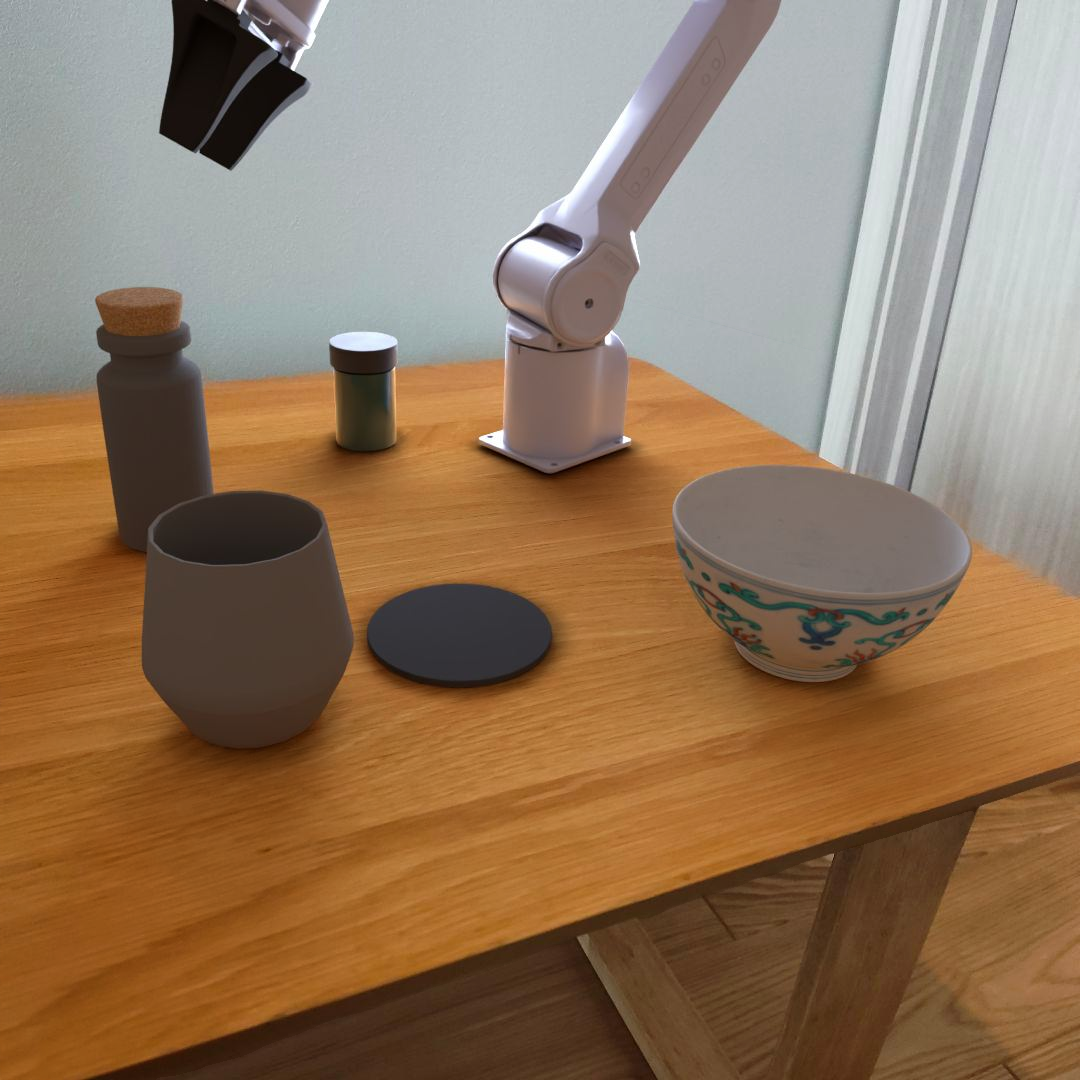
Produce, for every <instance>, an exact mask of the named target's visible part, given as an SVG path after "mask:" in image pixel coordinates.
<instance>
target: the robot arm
mask: <svg viewBox="0 0 1080 1080" xmlns="http://www.w3.org/2000/svg"><path fill="white" fill-rule="evenodd" d="M328 2H329V0H171V11H172V25H173V29H172V30H173V31H172V33H173V36H172V40H173V41H172V56H171V62H170V63H171V64H170V69H169V75H168V81H167V85H166V91H165V96H164V100H163V105H162V110H161V115H160V122H159V128H158V134H159V135H161V136H163V137H165V138H167V139H168V140H169V141H172V142H174V143H175V144H177V145H178V146H181V147H183V148H184V149H185V150H188V151H189V152H191V153H194V154H197V153H199V154H200V155H202V156H204V157H206V158H207V159H209V160H210V161H213V162H214V163H216V164H218V165H220V166H222V167H223V168H225V169H227V170H228V171H231V172H232V171H233V170H234V169H235V168H236V167H237V166H238V165H239V163H240V162H241V161H242V160H243V159H244V157H245V156H246V155H247V154H248V152H249V151H250V150H251V148H252V147H253V146H254V144H255V143H256V142H257V141H258V139H259V138H260V137H261V136H262V134H263V133H264V132H265V130H267V128H268V127H269V126H270V125H271V124H272V123H273V121H274V120H275V119H276V118H278V116H280V115H281V114H282V113H283V112H285V110H286V109H288V108H289V107H290V106H291V105H293V104H294V103H296V102H297V101H299V100H300V99H302V98H303V97H304V96H305V95H307V93H308V92H309V91H310V89H311V86H312V83H311V82H310V81H309V79H308V78H307V77H305V76H303V75H302V74H300V73H298V72H297V71H295V69H296V67H297V65H298V63H299V61H300V59H301V57H302V55H303V53H304V50H307V49H310V48H311V47H312V45H313V43H314V40H315V38H316V33H315V32H314V31H315V30H316V27H317V26H318V24H319V21H320V20H321V17H322V15H323V14H324V11H325V9H326V7H327V4H328ZM781 3H782V0H693V1H692V3H691V6H690V7H689V9H688V10H687V12H686V13H685V14H684V17H683V18H682V19H681V21H680V22H679V24H678V26H677V27H676V29H675V30H674V32H673V33H672V35H671V37H670V38H669V39H668V41H667V42H666V44H665V46H664V48H663V49H662V50H661V52H660V54H659V55H658V57H657V58H656V60H655V61H654V63H653V64H652V66H651V68H650V69H649V71H648V72H647V74H646V75H645V77H644V79H643V80H642V82H641V83H640V84H639V87H638V88H637V90H636V91H635V93H634V94H633V95H632V97H631V99H630V100H629V101H628V104H627V105H626V106H625V108H624V110H622V111H623V112H622V113H621V114H620V116H619V118H618V119H617V121H616V122H615V124H614V125H613V127H612V128H611V130H610V132H609V133H608V134H607V136H606V138H605V139H604V141H603V142H602V144H601V145H600V147H599V148H598V150H597V151H596V153H595V155H594V156H593V158H592V159H591V161H590V163H589V164H588V166H587V167H586V169H585V171H584V172H583V173H582V174H581V176H580V178H579V180H578V181H577V183H576V184H575V185H574V187H573V189H572V190H571V192H569V194H567V195H565V196H564V197H562V198H560V199H559V200H557V201H555V202H553V203H551V204H549V205H548V206H546V207H545V208H543V209H541V211H539V212H538V213H537V215H536V217H535V219H534V220H533V221H532V222H531V224H530V226H528V227H527V228H526V229H525V230H524V231H523V232H522V233H520V234H518V235H517V236H515V237H513V238H512V239H510V240H509V241H508V242H506V244H504V246H503V247H502V248H501V250H500V252H499V253H498V254H497V257H496V259H495V262H494V265H493V267H492V287H493V291H494V294H495V296H496V298H497V300H498V302H499V303H500V304H501V306H502V307H504V309H506V325H505V352H504V378H503V379H504V382H503V383H504V385H503V412H502V413H503V415H502V430H498V431H495V432H492V433H489V434H485V435H482V436H480V437H478V444H479V445H481V446H483V447H485V448H487V449H490V450H492V451H495V452H497V453H499V454H501V455H504V456H506V457H508V458H510V459H512V460H515V461H517V462H519V463H522V464H524V465H526V466H529V467H532V468H533V469H536V470H538V471H540V472H542V473H544V474H554V473H555V474H556V473H557V472H561V471H563V470H566V469H569V468H571V467H575V466H577V465H580V464H584V463H586V462H589V461H592V460H595V459H597V458H599V457H602V456H604V455H608V454H610V453H614V452H616V451H619V450H623V449H625V448H627V447H630V446H631V445H632V439H631V437H627V436H625V426H626V425H625V424H626V412H627V401H628V390H629V379H630V360H629V356H628V355H629V354H628V352H627V350H626V347H625V344H624V343H623V341H622V340H621V338H620V337H619V335H617V334H616V333H615V332H614V331H613V330H615V327H616V326H617V325H618V323H619V321H620V319H621V317H622V314H623V311H624V309H625V304H626V303H625V302H626V298H627V293H628V290H629V287H630V285H631V284H632V282H633V280H634V278H635V276H636V275H637V274H638V272H639V271H640V269H641V263H640V262H641V261H640V258H639V252H638V247H637V243H636V238H635V236H636V234H637V232H638V230H639V229H640V227H641V226H642V225H643V223H644V221H645V220H646V218H647V217H648V215H649V213H650V212H651V211H652V209H653V207H654V206H655V204H656V203H657V201H658V200H659V199H660V197H661V195H662V194H663V192H664V191H665V190H666V188H667V186H668V185H669V183H670V181H671V180H672V178H673V177H674V175H675V174H676V173H677V171H678V169H679V168H680V167H681V165H682V163H683V162H684V160H685V159H686V157H687V156H688V154H689V153H690V151H691V149H692V148H693V146H694V145H695V143H696V142H697V140H698V139H699V137H700V136H701V134H702V132H703V131H704V130H705V128H706V126H707V125H708V124H709V122H710V120H711V119H712V117H713V116H714V114H715V112H716V111H717V110H718V108H719V107H720V105H721V103H722V102H723V101H724V99H725V97H726V96H727V94H728V93H729V91H730V90H731V89H732V88H733V87H732V86H733V85H734V84H735V82H736V81H737V79H738V77H739V76H740V75H741V73H742V71H743V70H744V68H745V67H746V65H747V64H748V62H749V61H750V59H751V58H752V56H753V55H754V53H755V52H756V50H757V48H758V47H759V46H760V44H761V43H762V41H763V39H764V38H765V36H766V35H767V34H768V33H769V30H770V28H771V27H772V25H773V24H774V21H775V19H776V18H777V16H778V13H779V10H780V7H781Z"/></svg>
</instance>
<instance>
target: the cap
mask: <svg viewBox="0 0 1080 1080" xmlns="http://www.w3.org/2000/svg"><path fill="white" fill-rule="evenodd" d="M397 339H398V338H396V337H394V336H393V335H389V334H386V333H382V332H376V331H352V332H344V333H339V334H337V335H334V336H332V337H330V339H329V340H328V350H329V351H328V352H329V364H330V366H331V367H332V369H333V368H335V369H337V370H340V371H344V372H350V373H363V374H365V373H366V374H367V373H378V372H384V371H388V370H390V369H393V368H394V367H395V368H396V367H397V366H398V363H399V350H398V345H399V343H398V342H399V341H398V340H397Z"/></svg>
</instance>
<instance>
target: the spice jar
mask: <svg viewBox="0 0 1080 1080" xmlns="http://www.w3.org/2000/svg"><path fill="white" fill-rule="evenodd" d="M332 373H333V374H332V375H333V398H334V420H335V421H334V422H335V441H336V443H337V445H338V446H340V447H341V448H343V449H346V450H349V451H354V452H377V451H382V450H386V449H389V448H390V447H392V446H394V445H395V444H396V443H397V399H396V396H397V394H396V388H397V387H396V367H394V368H393V369H390V370H388V371H384V372H378V373H367V374H366V373H365V374H363V373H350V372H344V371H340V370H337V369H335V368H333V367H332Z"/></svg>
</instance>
